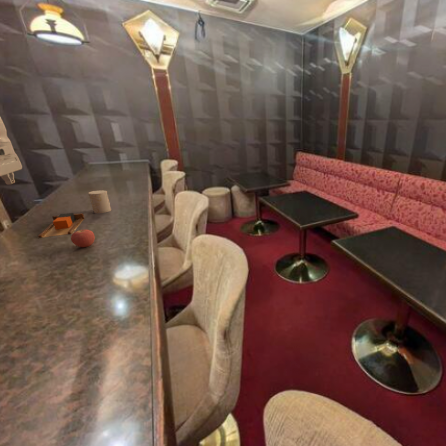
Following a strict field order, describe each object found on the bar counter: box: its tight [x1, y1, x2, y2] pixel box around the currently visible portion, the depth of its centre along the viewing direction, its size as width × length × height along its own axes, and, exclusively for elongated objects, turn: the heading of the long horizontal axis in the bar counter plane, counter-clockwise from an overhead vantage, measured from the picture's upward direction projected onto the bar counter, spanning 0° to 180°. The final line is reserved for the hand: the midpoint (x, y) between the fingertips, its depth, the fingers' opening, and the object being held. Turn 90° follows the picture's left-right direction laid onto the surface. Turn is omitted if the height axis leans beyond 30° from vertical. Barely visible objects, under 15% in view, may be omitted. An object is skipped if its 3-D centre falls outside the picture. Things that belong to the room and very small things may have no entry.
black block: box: [57, 212, 75, 223], centre depth 125 cm, size 5×6×4 cm
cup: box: [88, 189, 112, 214], centre depth 143 cm, size 8×8×12 cm
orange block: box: [52, 217, 73, 229], centre depth 120 cm, size 5×6×4 cm
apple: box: [70, 229, 96, 248], centre depth 103 cm, size 7×7×8 cm
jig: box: [37, 212, 85, 239], centre depth 120 cm, size 12×22×4 cm, turn 28°
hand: (10, 183), depth 103 cm, fingers closed
